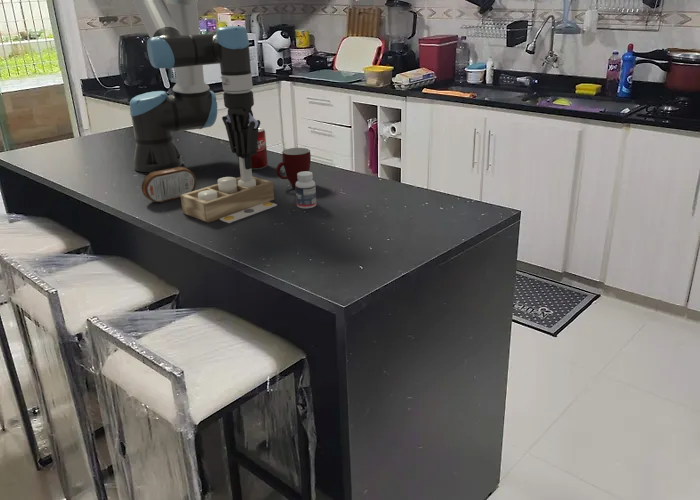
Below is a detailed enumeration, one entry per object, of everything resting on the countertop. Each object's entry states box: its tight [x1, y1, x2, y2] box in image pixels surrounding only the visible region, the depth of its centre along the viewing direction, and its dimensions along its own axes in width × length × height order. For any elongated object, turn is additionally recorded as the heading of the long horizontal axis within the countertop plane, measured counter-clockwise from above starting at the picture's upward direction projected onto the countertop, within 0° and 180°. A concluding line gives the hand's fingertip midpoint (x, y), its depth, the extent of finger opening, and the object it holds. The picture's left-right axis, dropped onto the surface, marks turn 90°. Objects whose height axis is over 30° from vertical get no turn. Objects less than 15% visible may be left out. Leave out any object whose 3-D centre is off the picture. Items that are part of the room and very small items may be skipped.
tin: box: [141, 166, 197, 203], centre depth 169 cm, size 15×3×8 cm, turn 128°
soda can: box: [251, 127, 269, 171], centre depth 195 cm, size 7×7×12 cm
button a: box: [198, 190, 218, 201], centre depth 157 cm, size 5×5×4 cm
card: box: [219, 201, 278, 224], centre depth 158 cm, size 4×16×1 cm, turn 138°
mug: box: [275, 147, 312, 188], centre depth 176 cm, size 10×8×10 cm
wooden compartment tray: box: [180, 175, 275, 223], centre depth 162 cm, size 11×22×5 cm, turn 138°
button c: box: [238, 178, 256, 188], centre depth 166 cm, size 5×5×4 cm
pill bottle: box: [294, 170, 317, 209], centre depth 160 cm, size 5×5×9 cm
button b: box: [217, 176, 237, 194], centre depth 161 cm, size 5×5×4 cm
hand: (246, 179), depth 165 cm, fingers closed
